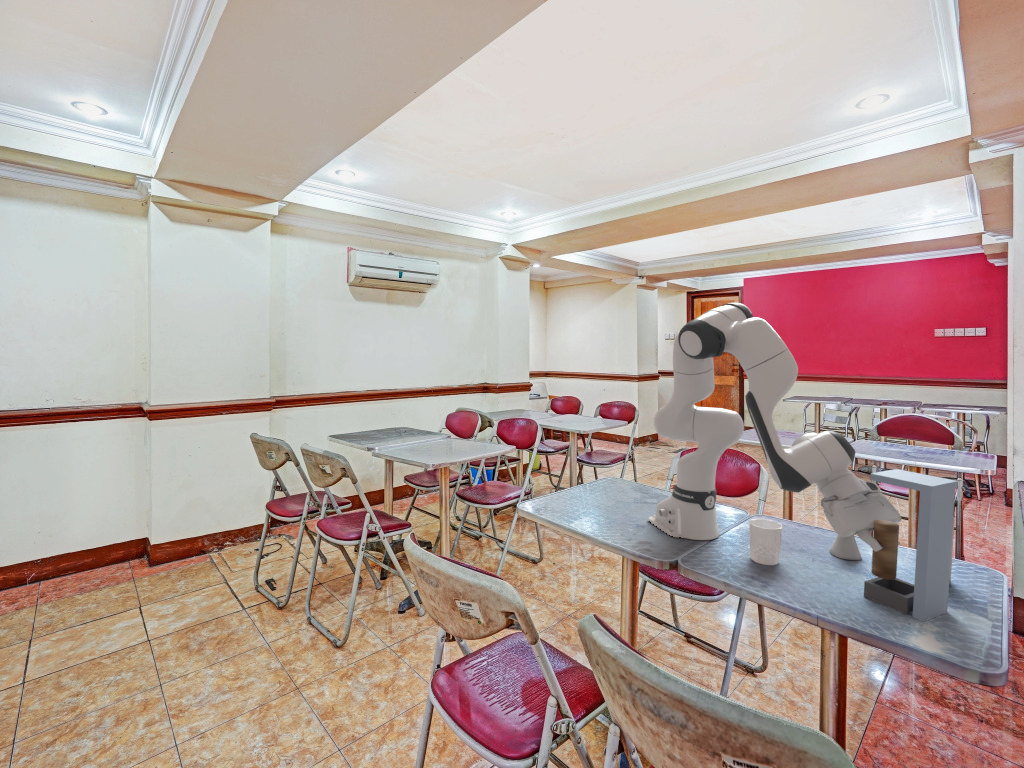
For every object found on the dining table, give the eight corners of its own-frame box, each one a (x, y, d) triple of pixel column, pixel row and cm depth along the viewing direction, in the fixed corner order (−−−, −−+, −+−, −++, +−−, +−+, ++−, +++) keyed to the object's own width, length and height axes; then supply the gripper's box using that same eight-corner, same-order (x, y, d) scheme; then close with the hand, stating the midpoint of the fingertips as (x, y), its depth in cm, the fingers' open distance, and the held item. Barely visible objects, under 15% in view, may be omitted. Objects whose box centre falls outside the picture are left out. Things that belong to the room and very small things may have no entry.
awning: (864, 596, 111) (870, 473, 109) (890, 587, 115) (896, 468, 113) (923, 621, 101) (932, 486, 99) (949, 610, 105) (958, 481, 103)
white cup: (743, 560, 130) (745, 524, 129) (753, 551, 136) (754, 516, 135) (776, 569, 125) (777, 531, 124) (784, 559, 131) (786, 523, 130)
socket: (863, 596, 111) (864, 581, 111) (885, 588, 115) (886, 574, 114) (906, 614, 104) (907, 598, 103) (928, 606, 107) (929, 590, 107)
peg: (867, 572, 112) (869, 521, 111) (878, 569, 114) (881, 518, 113) (888, 581, 108) (891, 528, 107) (900, 577, 110) (903, 525, 109)
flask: (851, 550, 137) (853, 515, 136) (867, 561, 130) (869, 525, 129) (824, 549, 137) (825, 515, 137) (839, 560, 130) (841, 524, 130)
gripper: (827, 492, 112) (871, 549, 103) (880, 483, 120) (925, 535, 112) (807, 505, 116) (848, 561, 108) (860, 495, 124) (902, 547, 116)
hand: (888, 548), depth 110 cm, fingers closed on peg, 4 cm apart
